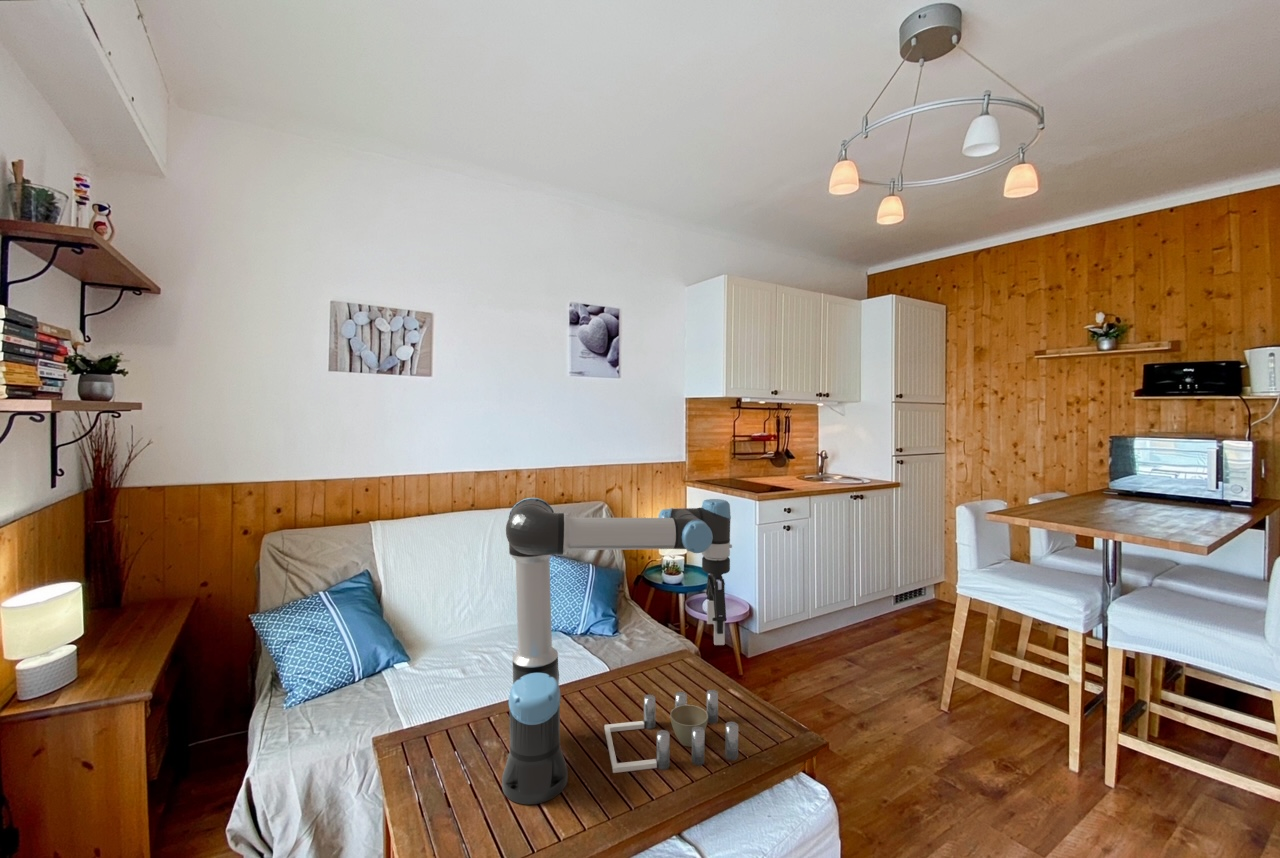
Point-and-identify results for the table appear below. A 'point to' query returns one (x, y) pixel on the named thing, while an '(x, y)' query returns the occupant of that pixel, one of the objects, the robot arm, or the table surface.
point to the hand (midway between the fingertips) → (715, 633)
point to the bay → (615, 766)
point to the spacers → (697, 731)
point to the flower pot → (687, 722)
